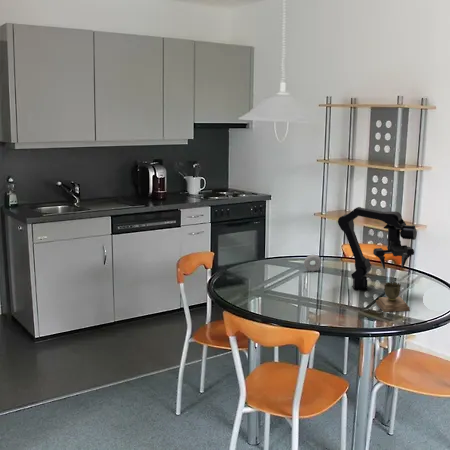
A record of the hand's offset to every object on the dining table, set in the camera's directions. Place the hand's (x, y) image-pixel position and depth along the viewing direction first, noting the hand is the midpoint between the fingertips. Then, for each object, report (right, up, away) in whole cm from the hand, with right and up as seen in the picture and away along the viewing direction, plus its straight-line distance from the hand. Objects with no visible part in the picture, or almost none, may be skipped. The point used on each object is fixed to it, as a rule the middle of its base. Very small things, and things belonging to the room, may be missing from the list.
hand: (393, 268), depth 286 cm
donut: (-33, -5, +44) cm, 55 cm away
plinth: (-5, -17, -15) cm, 23 cm away
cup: (-5, -14, -16) cm, 22 cm away
